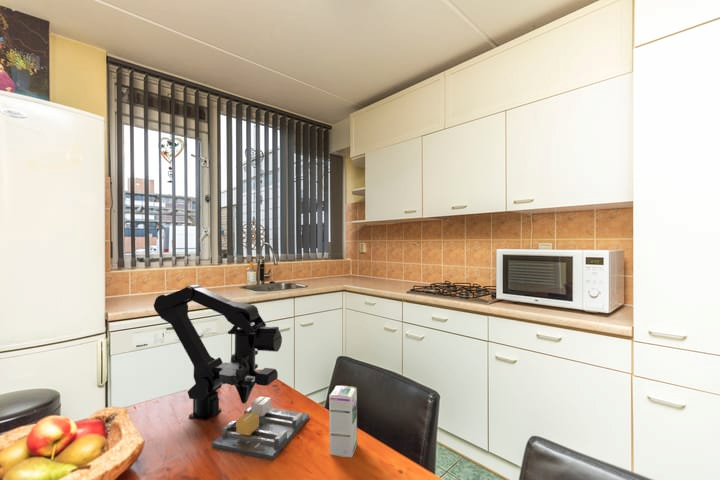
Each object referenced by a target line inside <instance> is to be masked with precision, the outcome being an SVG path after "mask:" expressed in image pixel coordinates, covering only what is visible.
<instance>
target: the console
mask: <svg viewBox="0 0 720 480" xmlns="http://www.w3.org/2000/svg"><path fill="white" fill-rule="evenodd" d="M247 412H250V413H251V406H250V407H248V408H247V409H246V410H245V411H243V415H244V414H245V413H247ZM309 419H310V413H307V412H306V413H305V412H299V411H293V410H287V409H281V408H277V407H276V408H274V407H271V409H270V410H269V411H268V412H267V413H266V414H265V417H264V416H259V427H258V428H256V429H255V430H254V431H253V432H252V435H249V436H248V435H243V434H238V433H236V428H237V420H232V421H230V422H229V423H227V424H226V425H225V426H224V427H222V434H221V435H220V436H218V437H217V438H216V439H215V440H214V441H212V442H211V449H216V450H220V451H224V452H230V453H233V454H238V455H241V456H248V457H253V458H257V459H262V460H266V461H270V462H272V461H273V460H274V459H276V457H277V456H278V455H279V454H280V452H281V451H282V450H283V449H284V448H285V446H286V445H288V443H289V442H290V441H291V439H293V437H294V436H295V435H296V434H297V433H298V432H299V430H300V429H301V428H302V427H303V426H304V425H305V424H306V422H308V420H309Z"/></svg>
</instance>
